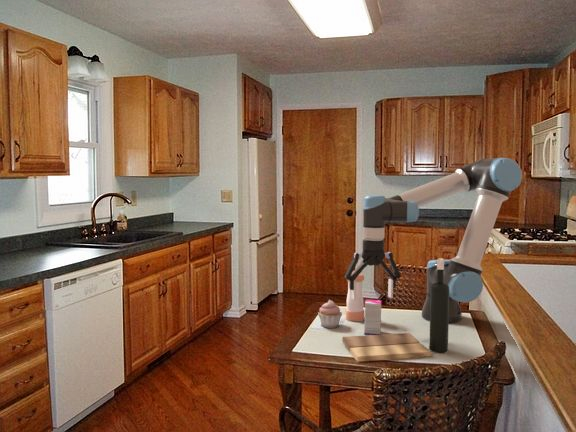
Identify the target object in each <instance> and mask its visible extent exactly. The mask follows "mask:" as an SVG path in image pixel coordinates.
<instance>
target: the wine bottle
mask: <svg viewBox="0 0 576 432" xmlns="http://www.w3.org/2000/svg"><path fill="white" fill-rule="evenodd" d="M436 260H437V282H435V283H433V284H432V285H431V296H430V320H429V348H428V349H429V350H430V351H431V353H432V352H433V353H436V354H437V353H438V354H444V353H448V351H449V286H448V284H446V283H444V282H443V275H444V260H445V259H444V258H441V257H439V258H437V259H436Z"/></svg>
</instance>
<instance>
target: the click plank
mask: <svg viewBox="0 0 576 432" xmlns="http://www.w3.org/2000/svg"><path fill="white" fill-rule="evenodd" d="M341 338H342V339H341V340H342V344H343V345H344V346H345V348H346V350H348V352H349V353H350V348H354V347H369V346H384V345H399V344H414V343H420V341H419V340H418V339H417V338H416V337H415V336H414V335H413V334H412V333H411V332H401V333H399V332H398V333H383V334H380V335H353V336H342V337H341Z"/></svg>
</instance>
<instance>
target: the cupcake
mask: <svg viewBox="0 0 576 432" xmlns="http://www.w3.org/2000/svg"><path fill="white" fill-rule="evenodd" d="M317 315H318V318H319V319H320V324H321V327H323V328H326V329H335V328H338V327H339V325H340V321H341V318H342V315H343V312H342V311H341V309H340V307H339V306H338V305H337V304H336V303H335V302H334V301H333V300H331V299H328V300H327V302H325V303H324V304H322V305H321V307H319V311H318V312H317Z"/></svg>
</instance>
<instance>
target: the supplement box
mask: <svg viewBox="0 0 576 432" xmlns="http://www.w3.org/2000/svg"><path fill="white" fill-rule="evenodd" d="M381 322H382V300H379V299H378V300H376V299H365V302H364V327H363V328H364V330H363V334H364V335H363V336H366V335H381V329H382V328H381V327H382V326H381V325H382V323H381Z"/></svg>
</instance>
